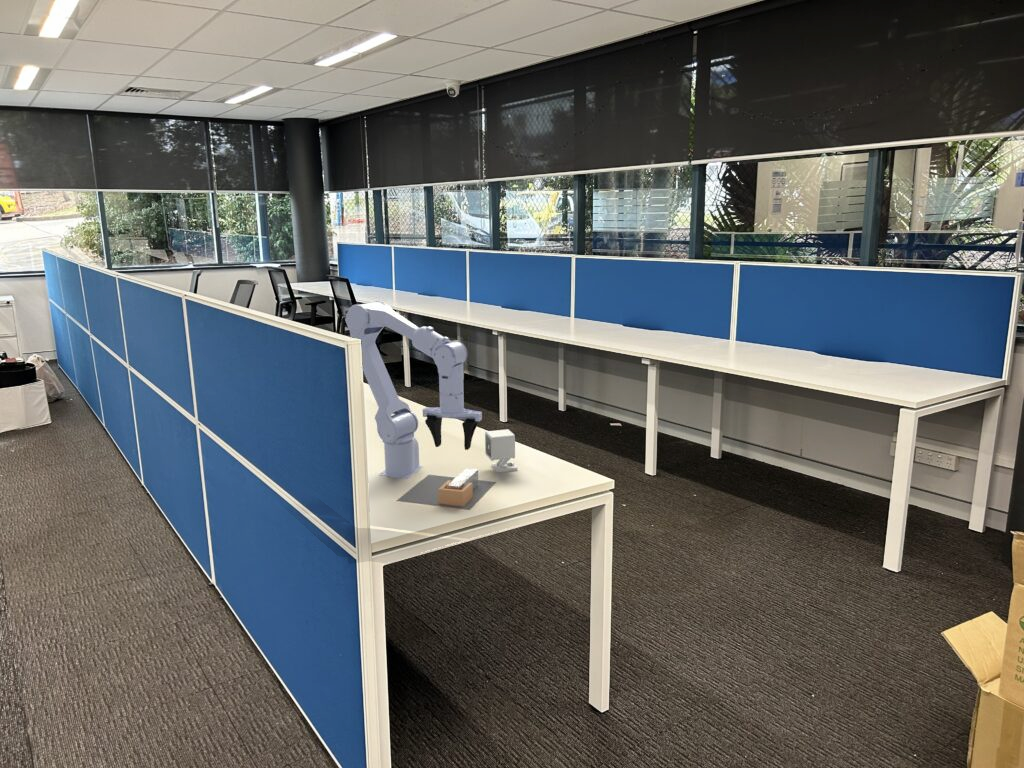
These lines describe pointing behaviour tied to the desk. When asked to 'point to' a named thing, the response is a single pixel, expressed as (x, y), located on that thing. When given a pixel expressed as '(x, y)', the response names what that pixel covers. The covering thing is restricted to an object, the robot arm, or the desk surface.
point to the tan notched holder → (455, 495)
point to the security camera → (501, 449)
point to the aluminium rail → (464, 479)
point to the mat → (429, 493)
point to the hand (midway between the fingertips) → (452, 447)
